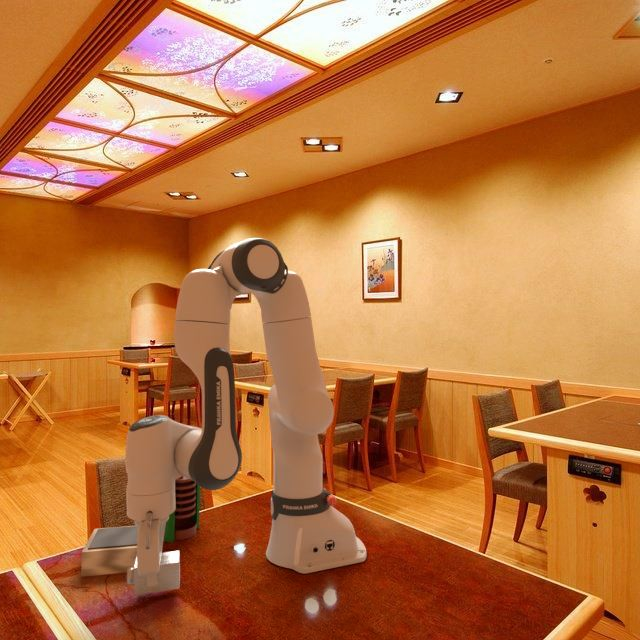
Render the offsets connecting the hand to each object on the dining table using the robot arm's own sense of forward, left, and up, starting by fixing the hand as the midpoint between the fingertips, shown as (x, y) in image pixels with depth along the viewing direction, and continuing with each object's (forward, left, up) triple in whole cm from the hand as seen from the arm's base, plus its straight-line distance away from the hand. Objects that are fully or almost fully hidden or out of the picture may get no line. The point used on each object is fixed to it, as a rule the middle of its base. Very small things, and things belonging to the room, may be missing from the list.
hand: (153, 575), depth 97 cm
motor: (-3, -29, -4) cm, 29 cm away
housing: (-1, 0, -2) cm, 2 cm away
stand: (+9, -17, -4) cm, 19 cm away
